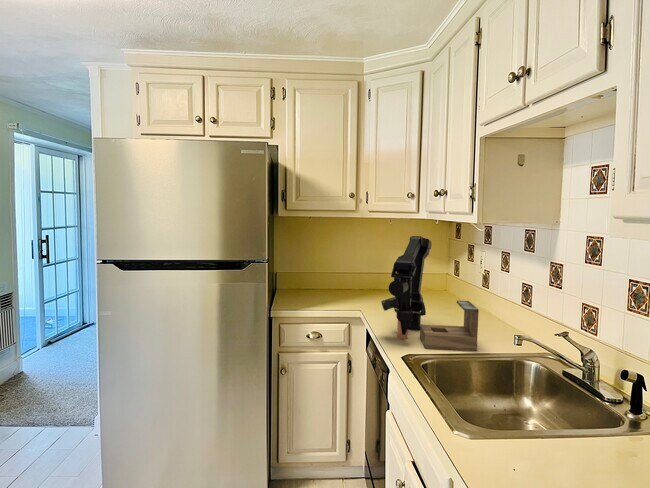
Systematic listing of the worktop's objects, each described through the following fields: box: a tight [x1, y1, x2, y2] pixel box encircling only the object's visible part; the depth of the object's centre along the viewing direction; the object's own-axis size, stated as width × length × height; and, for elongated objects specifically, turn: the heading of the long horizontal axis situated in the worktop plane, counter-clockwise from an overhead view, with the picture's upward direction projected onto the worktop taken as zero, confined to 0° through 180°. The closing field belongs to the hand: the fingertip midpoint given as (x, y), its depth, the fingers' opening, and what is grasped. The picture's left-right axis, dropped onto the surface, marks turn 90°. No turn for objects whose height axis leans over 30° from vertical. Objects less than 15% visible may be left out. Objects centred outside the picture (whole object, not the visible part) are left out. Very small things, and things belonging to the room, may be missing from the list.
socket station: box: [419, 300, 479, 352], centre depth 153 cm, size 14×18×15 cm
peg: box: [396, 319, 409, 340], centre depth 160 cm, size 4×4×8 cm
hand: (402, 331), depth 160 cm, fingers open, 8 cm apart
